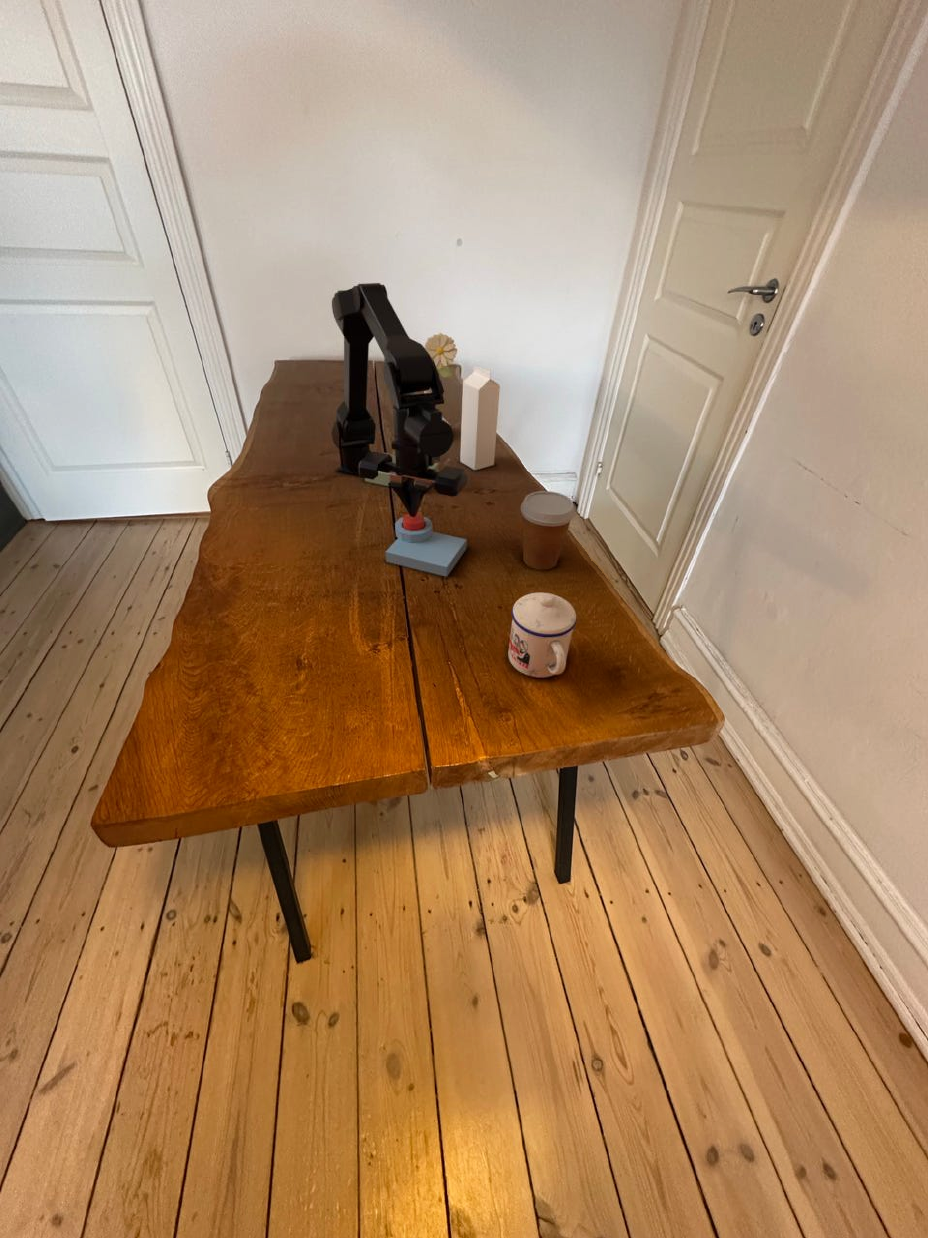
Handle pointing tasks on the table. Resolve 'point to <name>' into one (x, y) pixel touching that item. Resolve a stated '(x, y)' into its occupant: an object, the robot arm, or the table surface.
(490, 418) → the milk
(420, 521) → the button
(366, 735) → the table surface
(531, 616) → the teacup with lid
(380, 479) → the panel
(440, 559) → the button block
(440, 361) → the flower in vase
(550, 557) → the disposable coffee cup
